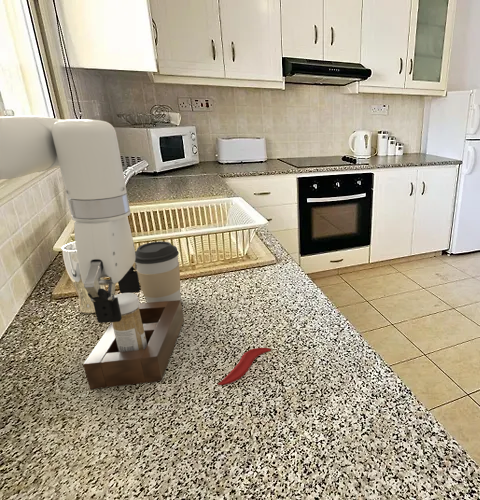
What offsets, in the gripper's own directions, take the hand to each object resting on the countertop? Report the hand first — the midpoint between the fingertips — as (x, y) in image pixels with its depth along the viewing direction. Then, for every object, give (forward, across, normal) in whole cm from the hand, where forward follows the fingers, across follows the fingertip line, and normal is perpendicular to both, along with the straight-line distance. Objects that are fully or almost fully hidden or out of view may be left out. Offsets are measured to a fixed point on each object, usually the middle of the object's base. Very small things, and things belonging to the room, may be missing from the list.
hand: (121, 305), depth 62 cm
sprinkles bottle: (+12, 0, +1) cm, 12 cm away
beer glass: (+12, -23, -14) cm, 30 cm away
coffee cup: (+12, -21, +1) cm, 24 cm away
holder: (+12, -4, +1) cm, 13 cm away
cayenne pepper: (+12, +4, +20) cm, 23 cm away
